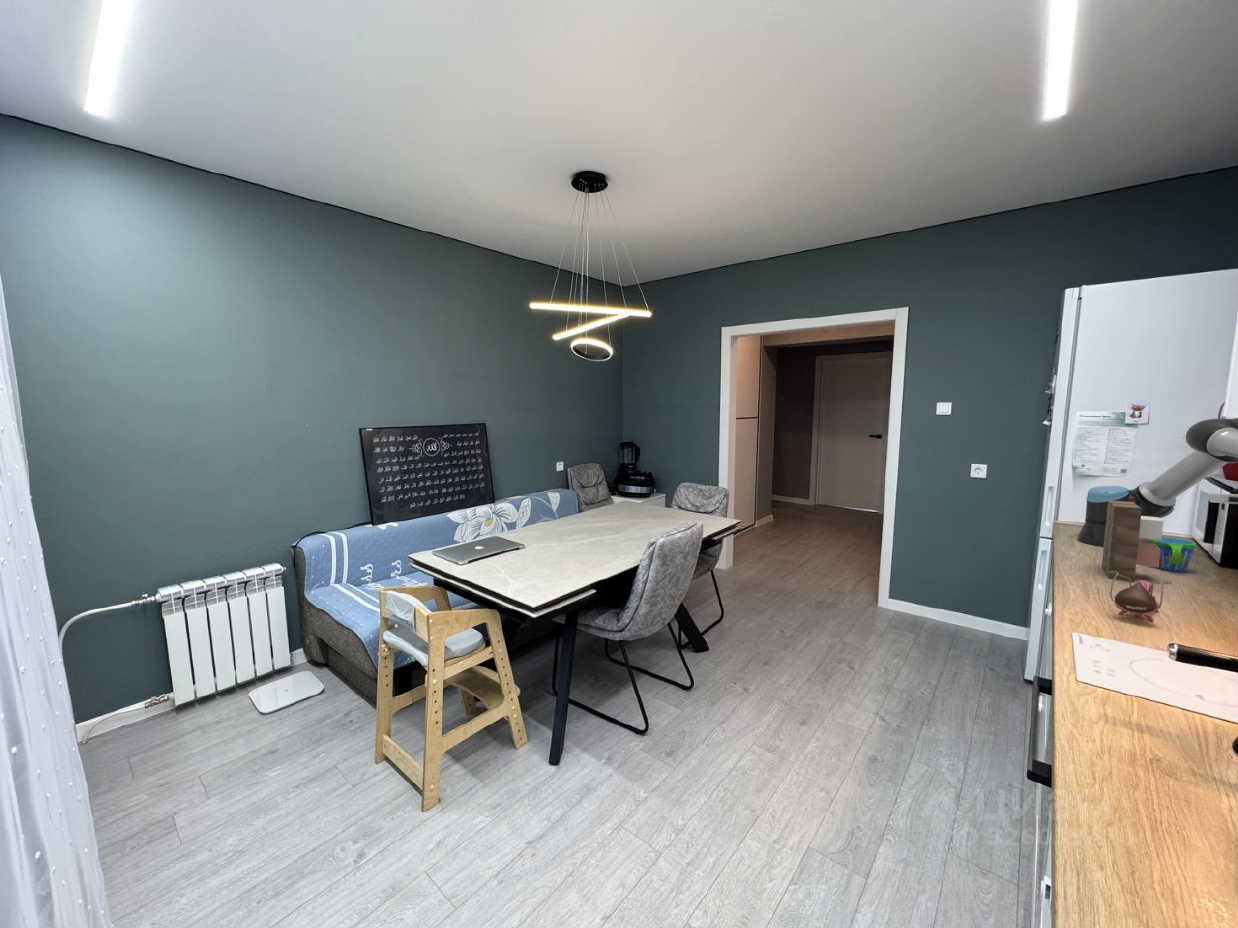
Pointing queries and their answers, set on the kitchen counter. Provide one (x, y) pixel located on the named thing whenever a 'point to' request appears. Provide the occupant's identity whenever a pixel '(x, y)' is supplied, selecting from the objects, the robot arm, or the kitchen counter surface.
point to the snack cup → (1174, 553)
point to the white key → (1151, 527)
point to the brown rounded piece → (1138, 598)
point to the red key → (1148, 555)
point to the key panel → (1121, 539)
